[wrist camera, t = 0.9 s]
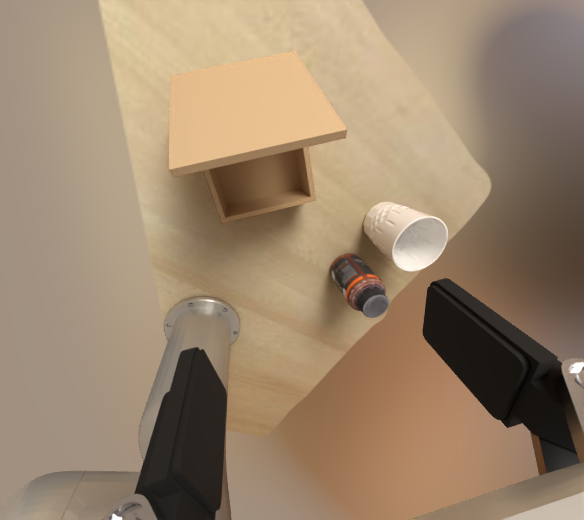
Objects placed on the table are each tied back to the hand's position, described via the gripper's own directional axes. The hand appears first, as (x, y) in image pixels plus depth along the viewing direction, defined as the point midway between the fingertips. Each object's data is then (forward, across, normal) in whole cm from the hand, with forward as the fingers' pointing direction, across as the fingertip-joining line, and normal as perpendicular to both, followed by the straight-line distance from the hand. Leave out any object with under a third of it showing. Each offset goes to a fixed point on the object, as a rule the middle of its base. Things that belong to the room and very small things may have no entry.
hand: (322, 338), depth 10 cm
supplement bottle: (+29, -11, +16) cm, 35 cm away
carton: (+28, 0, -6) cm, 29 cm away
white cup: (+29, -18, +9) cm, 35 cm away
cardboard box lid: (+17, 0, -9) cm, 19 cm away
